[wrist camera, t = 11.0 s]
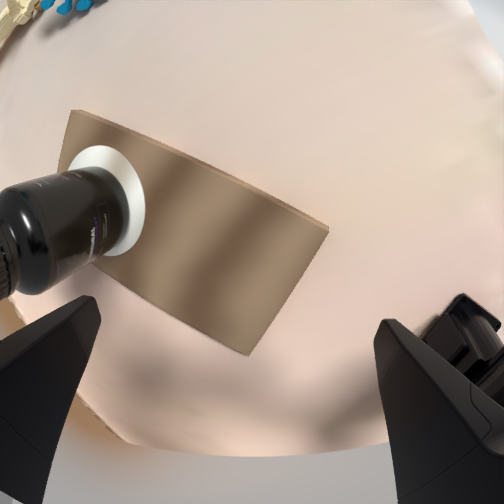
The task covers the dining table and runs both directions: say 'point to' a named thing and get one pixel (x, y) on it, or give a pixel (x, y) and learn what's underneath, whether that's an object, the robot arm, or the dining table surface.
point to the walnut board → (196, 233)
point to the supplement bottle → (58, 227)
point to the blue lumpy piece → (66, 5)
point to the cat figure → (16, 15)
